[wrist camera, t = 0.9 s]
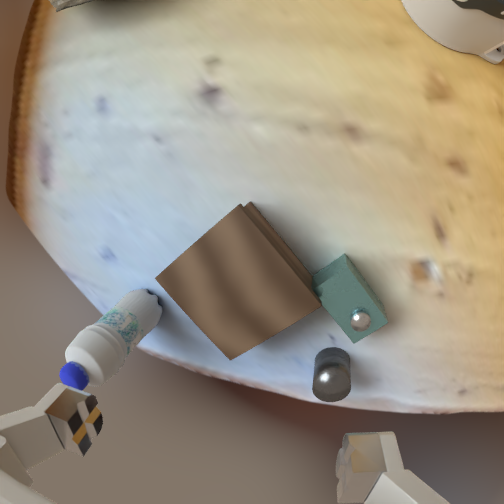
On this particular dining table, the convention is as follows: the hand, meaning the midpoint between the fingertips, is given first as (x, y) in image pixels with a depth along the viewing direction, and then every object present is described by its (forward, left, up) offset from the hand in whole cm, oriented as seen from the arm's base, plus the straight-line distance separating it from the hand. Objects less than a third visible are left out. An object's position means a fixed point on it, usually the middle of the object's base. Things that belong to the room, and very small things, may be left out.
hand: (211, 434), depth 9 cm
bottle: (+26, -3, -32) cm, 41 cm away
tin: (+9, +20, -32) cm, 39 cm away
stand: (+10, +2, -32) cm, 33 cm away
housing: (+1, +12, -32) cm, 34 cm away
